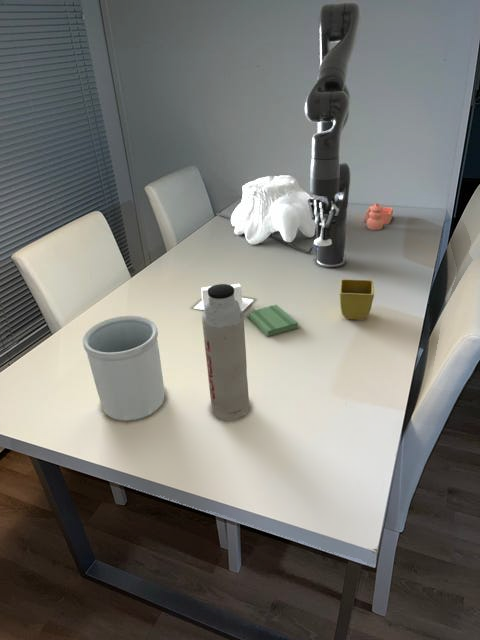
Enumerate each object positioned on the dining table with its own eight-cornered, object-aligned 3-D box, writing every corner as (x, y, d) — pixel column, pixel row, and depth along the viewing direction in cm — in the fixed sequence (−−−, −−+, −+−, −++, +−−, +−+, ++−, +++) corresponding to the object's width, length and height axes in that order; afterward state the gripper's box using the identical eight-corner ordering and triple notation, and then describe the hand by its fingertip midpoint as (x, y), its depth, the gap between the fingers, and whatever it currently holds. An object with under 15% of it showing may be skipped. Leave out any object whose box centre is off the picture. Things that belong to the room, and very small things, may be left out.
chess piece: (333, 240, 138) (334, 205, 133) (330, 246, 134) (331, 211, 129) (315, 239, 139) (316, 205, 134) (312, 245, 135) (313, 210, 130)
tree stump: (266, 220, 226) (258, 170, 217) (338, 219, 204) (332, 164, 195) (213, 251, 199) (201, 195, 190) (289, 254, 177) (280, 192, 168)
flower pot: (371, 324, 130) (374, 294, 126) (338, 322, 132) (339, 293, 127) (370, 309, 138) (373, 280, 133) (339, 307, 139) (340, 278, 135)
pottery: (369, 215, 210) (371, 192, 205) (392, 217, 206) (394, 194, 201) (361, 229, 196) (362, 205, 191) (385, 231, 192) (387, 206, 187)
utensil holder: (170, 416, 102) (159, 345, 93) (98, 429, 100) (79, 358, 91) (165, 376, 115) (154, 311, 106) (100, 387, 112) (84, 321, 104)
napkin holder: (192, 308, 144) (190, 291, 141) (210, 292, 153) (209, 275, 150) (238, 316, 138) (237, 298, 135) (254, 299, 147) (253, 282, 144)
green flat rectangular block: (248, 317, 137) (248, 311, 137) (276, 309, 140) (276, 304, 140) (267, 336, 128) (267, 330, 127) (297, 327, 131) (297, 322, 130)
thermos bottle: (212, 421, 100) (198, 300, 86) (211, 397, 107) (198, 281, 93) (251, 418, 100) (243, 296, 86) (247, 394, 107) (240, 278, 93)
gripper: (352, 177, 123) (348, 243, 131) (322, 168, 134) (321, 228, 143) (327, 182, 120) (325, 248, 129) (298, 172, 132) (298, 233, 140)
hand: (323, 237), depth 136 cm, fingers closed on chess piece
